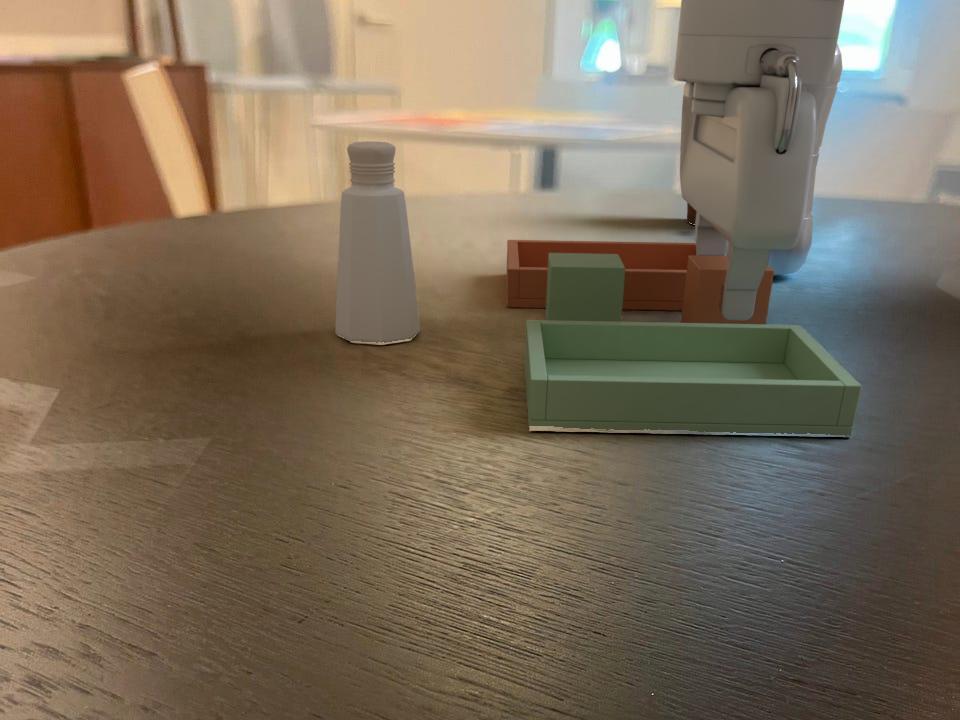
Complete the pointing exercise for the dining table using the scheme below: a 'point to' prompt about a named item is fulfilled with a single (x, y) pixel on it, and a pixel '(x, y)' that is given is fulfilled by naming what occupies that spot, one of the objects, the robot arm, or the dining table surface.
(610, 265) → the sage block
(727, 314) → the robot arm
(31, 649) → the dining table surface
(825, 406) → the sage tray
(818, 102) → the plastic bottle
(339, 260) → the pepper shaker
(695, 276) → the clay block
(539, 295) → the clay tray
